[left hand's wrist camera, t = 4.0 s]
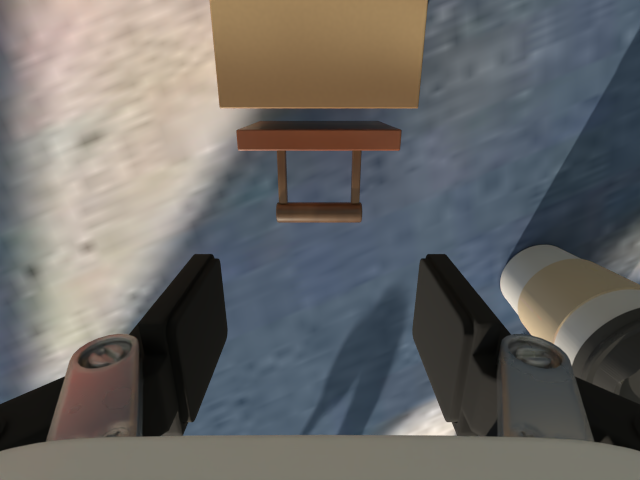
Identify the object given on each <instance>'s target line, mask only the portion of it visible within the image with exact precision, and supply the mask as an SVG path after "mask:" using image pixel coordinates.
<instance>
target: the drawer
mask: <svg viewBox="0 0 640 480" xmlns="http://www.w3.org/2000/svg"><path fill="white" fill-rule="evenodd" d="M236 132H237V144H238V150H277V164H278V187H279V202H278V203H277V206H276V218H277V222H361V220H362V204H361V203H360V202H359V196H360V172H361V150H400V144H401V130H400V129H397V128H395V127H392V126H390V125H387V124H384V123H382V122H379V121H259V122H257V123H254V124H251V125H249V126H246V127H243V128H241V129H238V130H237V131H236ZM286 150H352V178H351V202H288V196H287V167H286Z"/></svg>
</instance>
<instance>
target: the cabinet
mask: <svg viewBox="0 0 640 480" xmlns="http://www.w3.org/2000/svg"><path fill="white" fill-rule="evenodd" d="M427 6H428V0H210V10H211V20H212V31H213V42H214V52H215V63H216V73H217V84H218V94H219V105H220V108H418V103H419V92H420V81H421V71H422V60H423V49H424V38H425V27H426V16H427Z"/></svg>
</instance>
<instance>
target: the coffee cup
mask: <svg viewBox="0 0 640 480" xmlns="http://www.w3.org/2000/svg"><path fill="white" fill-rule="evenodd" d="M500 286H501V291H502V293H503V295H504V297H505V298H506V299H507V301H508V302H509V303H510V305H511V306H512V307H513V309H514V310H515V311H516V312H517V314H518V315H519V318H520V320H521V322H522V323H523V325H524V326H525V327H526V329H527V330H528V331H529V333H530V334H531V335H532V336H536V337H539V338H542V339H544V340H547V341H549V342H551V343H553V344H554V345H556V346H558V347H559V348H561V349H562V350H563V351H564V352H565V353H566V354H567V356H568V358H569V359H570V362H571V365H572V369H573V372H574V375H575V377H577V378H580V379H582V380H584V381H587V382H589V383H591V384H594V385H596V386H598V387H601V388H603V389H605V390H608V391H610V392H612V393H615V394H617V395H619V396H622V397H624V398H626V399H629V400H631V401H633V402H636V403H638V404H640V285H639V284H637V283H635V282H633V281H631V280H629V279H626V278H624V277H622V276H620V275H618V274H616V273H614V272H612V271H610V270H608V269H606V268H604V267H602V266H599V265H597V264H595V263H593V262H591V261H588V260H584V259H581V258H578V257H576V256H574V255H572V254H570V253H568V252H566V251H564V250H562V249H560V248H558V247H556V246H552V245H536V246H532V247H529V248H527V249H525V250H523V251H521V252H519V253H518V254H517V255H515V256H514V257H513V258H512V259H511V260H510V261H509V262H508V264H507V265H506V267H505V268H504V270H503V273H502V275H501V281H500Z"/></svg>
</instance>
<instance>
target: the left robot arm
mask: <svg viewBox="0 0 640 480" xmlns="http://www.w3.org/2000/svg"><path fill="white" fill-rule="evenodd" d="M226 339H227V320H226V311H225V302H224V293H223V283H222V274H221V265H220V260H219V259H214V256H213V254H195V255H193V257H192V258H191V259H190V260H189V261H188V263H187V264H186V265H185V266H184V268H183V269H182V270H181V271H180V273H179V274H178V275H177V276H176V278H175V279H174V280H173V281H172V282H171V284H170V285H169V286H168V287H167V289H166V290H165V291H164V292H163V294H162V295H161V296H160V297H159V298H158V300H157V301H156V302H155V303H154V304H153V306H152V307H151V308H150V309H149V311H148V312H147V313H146V314H145V316H144V317H143V318H142V319H141V320H140V322H139V323H138V324H137V325H136V327H135V328H134V329H133V330H132V332H131V333H130V334H129V335H128V334H114V335H108V336H104V337H101V338H98V339H96V340H93V341H91V342H89V343H87V344H86V345H84V346H82V347H81V348H79V349H78V350H77V351H76V352H75V353H74V354H73V356H72V358H71V359H70V362H69V365H68V369H67V372H66V375H65V377H63V378H60V379H58V380H56V381H53V382H51V383H49V384H46V385H44V386H42V387H39V388H37V389H35V390H32V391H30V392H28V393H25V394H23V395H21V396H18V397H16V398H14V399H11V400H9V401H7V402H4V403H2V404H0V480H640V404H638V403H636V402H633V401H631V400H629V399H626V398H624V397H622V396H619V395H617V394H615V393H612V392H610V391H608V390H605V389H603V388H601V387H598V386H596V385H594V384H591V383H589V382H587V381H584V380H582V379H580V378H577V377H575V375H574V372H573V369H572V365H571V362H570V359H569V358H568V356H567V354H566V353H565V352H564V351H563V350H562V349H561V348H559V347H558V346H556V345H554V344H553V343H551V342H549V341H547V340H544V339H542V338H539V337H536V336H532V335H526V334H512V335H511V334H510V333H509V332H508V330H507V329H506V328H505V327H504V325H503V324H502V323H501V322H500V320H499V319H498V318H497V317H496V316H495V314H494V313H493V312H492V311H491V309H490V308H489V307H488V306H487V304H486V303H485V302H484V301H483V300H482V298H481V297H480V296H479V295H478V294H477V292H476V291H475V290H474V289H473V287H472V286H471V285H470V284H469V282H468V281H467V280H466V279H465V278H464V276H463V275H462V274H461V273H460V271H459V270H458V269H457V268H456V266H455V265H454V264H453V263H452V261H451V260H450V259H449V258H448V257H447V255H445V254H427V256H426V259H421V260H420V265H419V274H418V283H417V292H416V302H415V311H414V320H413V339H414V342H415V344H416V347H417V349H418V352H419V354H420V357H421V360H422V362H423V365H424V367H425V370H426V372H427V375H428V377H429V380H430V383H431V385H432V388H433V390H434V393H435V395H436V398H437V401H438V403H439V406H440V408H441V411H442V413H443V416H444V418H445V420H446V422H452V424H453V426H454V429H455V431H456V434H457V436H407V435H233V436H183V434H184V431H185V429H186V426H187V424H188V422H193V421H194V420H195V418H196V416H197V413H198V411H199V408H200V406H201V403H202V400H203V398H204V395H205V393H206V390H207V388H208V385H209V383H210V380H211V377H212V375H213V372H214V370H215V367H216V365H217V362H218V359H219V357H220V354H221V352H222V349H223V347H224V344H225V342H226ZM161 435H162V436H161ZM478 435H479V436H478Z"/></svg>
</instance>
